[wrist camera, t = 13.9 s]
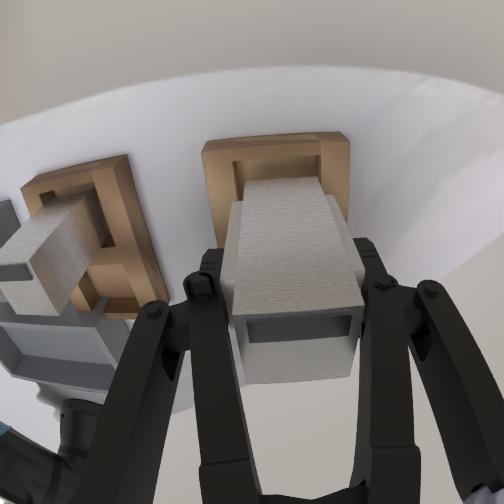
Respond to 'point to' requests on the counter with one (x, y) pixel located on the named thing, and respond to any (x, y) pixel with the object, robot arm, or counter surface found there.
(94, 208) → the block
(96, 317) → the tote
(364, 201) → the counter surface
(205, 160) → the pallets
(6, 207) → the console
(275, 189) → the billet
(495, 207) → the counter surface
